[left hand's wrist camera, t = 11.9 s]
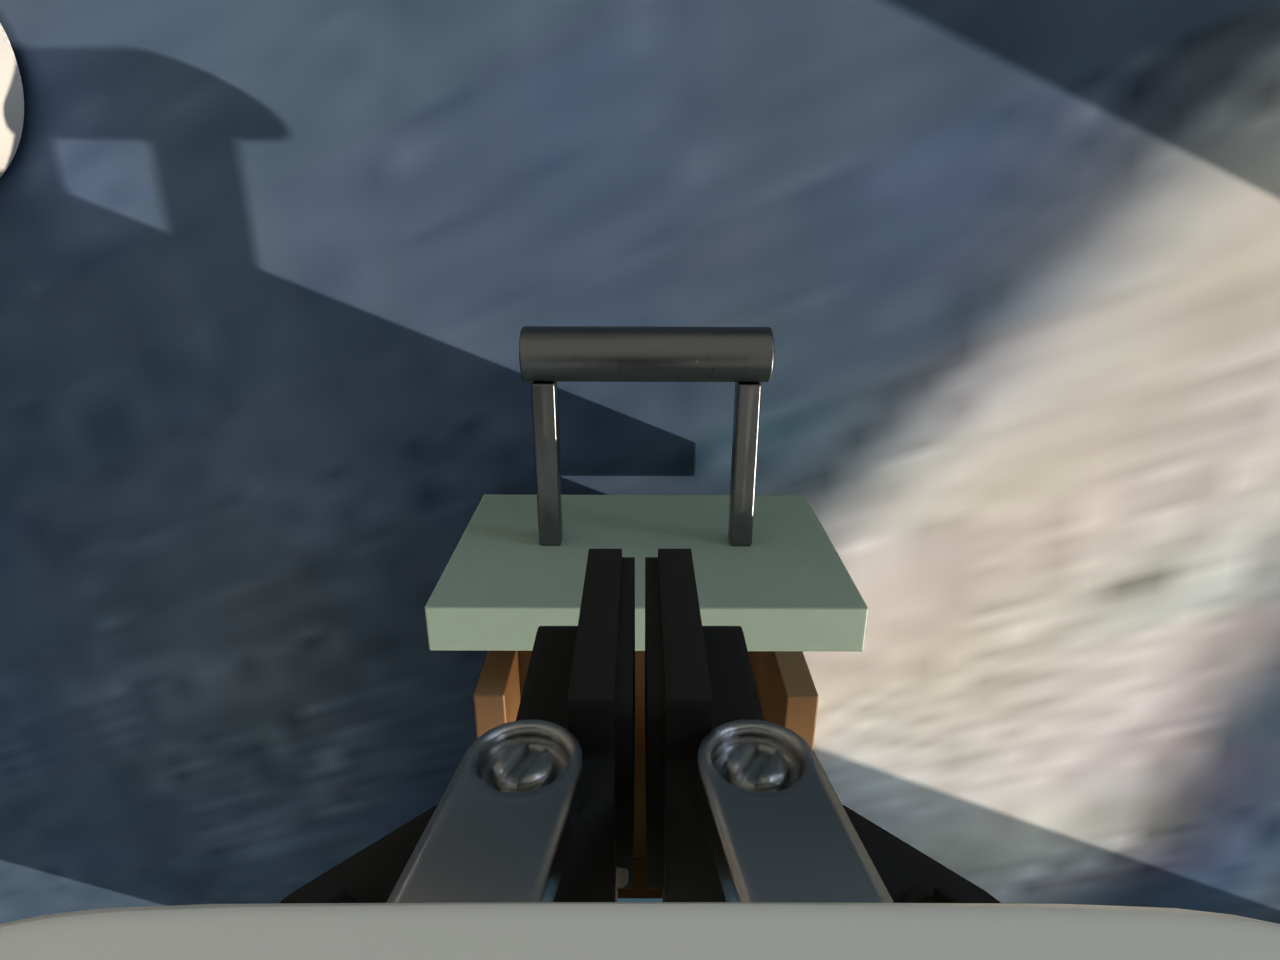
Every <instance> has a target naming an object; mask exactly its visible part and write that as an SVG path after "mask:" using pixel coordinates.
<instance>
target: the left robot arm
mask: <svg viewBox="0 0 1280 960" xmlns="http://www.w3.org/2000/svg"><path fill="white" fill-rule="evenodd" d="M634 779H635V557H622V549H589V552H588V559H587V566H586V573H585V579H584V586H583V593H582V600H581V607H580V614H579V621H578V626H539V627H538V630H537V633H536V637H535V642H534V646H533V650H532V654H531V658H530V663H529V667H528V671H527V675H526V680H525V684H524V688H523V692H522V696H521V701H520V705H519V709H518V713H517V718H516V721H513V722H508V723H504V724H502V725H499V726H497V727H495V728H492V729H490V730H488V731H487V732H485V733H484V734H483V735H481V736H480V737H478V738H477V739H476V740H475V741H474V742H473V743H472V745H471V746H470V747H469V749H468V750H467V751H466V753H465V755H464V756H463V758H462V760H461V762H460V764H459V766H458V768H457V770H456V772H455V773H454V775H453V777H452V779H451V781H450V783H449V785H448V787H447V789H446V790H445V792H444V794H443V796H442V798H441V800H440V802H439V804H438V805H436V806H434V807H433V808H431V809H429V810H428V811H426V812H424V813H423V814H421V815H419V816H418V817H416V818H415V819H413V820H411V821H410V822H408V823H406V824H405V825H403V826H401V827H400V828H398V829H396V830H395V831H393V832H391V833H390V834H388V835H387V836H385V837H383V838H382V839H380V840H378V841H377V842H375V843H373V844H372V845H370V846H368V847H367V848H365V849H363V850H362V851H360V852H359V853H357V854H355V855H354V856H352V857H350V858H349V859H347V860H345V861H344V862H342V863H340V864H339V865H337V866H335V867H334V868H332V869H330V870H329V871H327V872H326V873H324V874H322V875H321V876H319V877H317V878H316V879H314V880H312V881H311V882H309V883H307V884H306V885H304V886H302V887H301V888H299V889H298V890H296V891H294V892H293V893H292V894H290V895H289V896H288V897H286V898H285V899H284V900H282V901H281V902H280V903H274V904H198V905H172V906H146V907H121V908H101V909H92V910H83V911H75V912H66V913H57V914H48V915H42V916H37V917H32V918H27V919H22V920H17V921H12V922H8V923H3V924H0V960H1280V924H1277V923H1272V922H1268V921H1263V920H1258V919H1253V918H1248V917H1243V916H1238V915H1232V914H1223V913H1214V912H1205V911H1197V910H1188V909H1179V908H1159V907H1134V906H1108V905H1082V904H1006V903H1000V902H999V901H998V900H996V899H995V898H994V897H992V896H991V895H990V894H988V893H987V892H986V891H984V890H982V889H981V888H979V887H978V886H976V885H974V884H973V883H971V882H969V881H968V880H966V879H964V878H963V877H961V876H959V875H958V874H956V873H954V872H953V871H951V870H950V869H948V868H946V867H945V866H943V865H941V864H940V863H938V862H936V861H935V860H933V859H931V858H930V857H928V856H926V855H925V854H923V853H921V852H920V851H918V850H917V849H915V848H913V847H912V846H910V845H908V844H907V843H905V842H903V841H902V840H900V839H898V838H897V837H895V836H893V835H892V834H890V833H889V832H887V831H885V830H884V829H882V828H880V827H879V826H877V825H875V824H874V823H872V822H870V821H869V820H867V819H865V818H864V817H862V816H861V815H859V814H857V813H856V812H854V811H852V810H851V809H849V808H847V807H846V806H844V805H842V804H841V802H840V800H839V798H838V796H837V794H836V792H835V790H834V789H833V787H832V785H831V783H830V781H829V779H828V777H827V775H826V773H825V772H824V770H823V768H822V766H821V764H820V762H819V760H818V758H817V756H816V755H815V753H814V751H813V750H812V749H811V747H810V746H809V745H808V743H807V742H806V741H805V740H804V739H803V738H802V737H800V736H799V735H797V734H796V733H795V732H793V731H792V730H790V729H788V728H785V727H783V726H781V725H778V724H776V723H772V722H767V721H764V718H763V713H762V709H761V705H760V701H759V696H758V692H757V688H756V684H755V680H754V675H753V671H752V667H751V663H750V658H749V654H748V650H747V646H746V642H745V637H744V633H743V630H742V627H741V626H702V621H701V614H700V607H699V600H698V593H697V586H696V579H695V573H694V566H693V559H692V552H691V549H658V557H645V779H646V884H647V889H662V900H663V902H617V900H618V889H633V884H634Z"/></svg>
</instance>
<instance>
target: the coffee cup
mask: <svg viewBox="0 0 1280 960" xmlns="http://www.w3.org/2000/svg"><path fill="white" fill-rule="evenodd" d="M23 121H24V95H23V86H22V81H21V76H20V71H19V68H18V64H17V61H16V58H15V55H14V52H13V49H12V47H11V44H10V42H9V39H8V37H7V35H6V33H5V31H4V29H3V27H2V25H1V24H0V177H1V176H2V175H3V174H4V172H5V171H6V170H7V168H8V166H9V165H10V163H11V162H12V160H13V157H14V155H15V153H16V151H17V148H18V145H19V142H20V138H21V134H22V129H23Z"/></svg>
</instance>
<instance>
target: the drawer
mask: <svg viewBox="0 0 1280 960" xmlns="http://www.w3.org/2000/svg"><path fill="white" fill-rule="evenodd" d="M519 360H520V370H521V375H522V378H523V380H524V381H533V383H532V385H531V390H532V410H533V430H534V450H535V471H536V491H537V495H491V494H485V495H483V497H482V499H481V501H480V503H479V505H478V506H477V508H476V510H475V512H474V514H473V516H472V518H471V520H470V522H469V524H468V525H467V527H466V529H465V531H464V533H463V535H462V537H461V539H460V541H459V543H458V545H457V546H456V548H455V550H454V552H453V554H452V556H451V558H450V560H449V562H448V564H447V565H446V567H445V569H444V571H443V573H442V575H441V577H440V579H439V581H438V583H437V584H436V586H435V588H434V590H433V592H432V594H431V596H430V598H429V600H428V602H427V604H426V605H425V617H426V626H427V634H428V643H429V649H430V650H485V651H488V653H487V656H486V658H485V661H484V664H483V667H482V670H481V673H480V676H479V679H478V682H477V685H476V688H475V691H474V694H473V702H474V713H475V724H476V734H477V738H478V737H480V736H481V735H483V734H484V733H485V732H487V731H488V730H490V729H492V728H495V727H497V726H499V725H502V724H504V723H508V722H513V721H516V718H517V713H518V709H519V705H520V701H521V696H522V692H523V688H524V684H525V680H526V675H527V671H528V667H529V663H530V658H531V654H532V650H533V646H534V642H535V637H536V633H537V630H538V627H539V626H578V621H579V614H580V607H581V600H582V593H583V586H584V579H585V573H586V566H587V559H588V552H589V549H622V557H635V779H634V884H633V889H618V898H662V889H647V884H646V779H645V557H658V549H691V552H692V559H693V566H694V573H695V579H696V586H697V593H698V600H699V607H700V614H701V621H702V626H741V627H742V630H743V633H744V637H745V642H746V646H747V650H748V654H749V658H750V663H751V667H752V671H753V675H754V680H755V684H756V688H757V692H758V696H759V701H760V705H761V709H762V713H763V718H764V721H767V722H772V723H776V724H778V725H781V726H783V727H785V728H788V729H790V730H792V731H793V732H795V733H796V734H797V735H799V736H800V737H802V738H803V739H804V740H805V741H806V742H807V743H808V745H809V746H810V747H811V749H812V750H813V744H814V735H815V725H816V716H817V706H818V694H817V691H816V688H815V685H814V683H813V680H812V677H811V674H810V671H809V669H808V666H807V663H806V660H805V657H804V655H803V652H802V651H863V646H864V638H865V630H866V622H867V614H868V607H867V605H866V604H865V602H864V600H863V598H862V596H861V595H860V593H859V591H858V589H857V587H856V586H855V584H854V582H853V580H852V578H851V576H850V575H849V573H848V571H847V569H846V567H845V566H844V564H843V562H842V560H841V558H840V557H839V555H838V553H837V551H836V549H835V548H834V546H833V544H832V542H831V540H830V539H829V537H828V535H827V533H826V531H825V530H824V528H823V526H822V524H821V522H820V521H819V519H818V517H817V515H816V513H815V512H814V510H813V508H812V506H811V504H810V503H809V501H808V499H807V497H806V496H805V495H755V484H756V467H757V451H758V435H759V419H760V402H761V384H760V382H768V381H770V379H771V376H772V372H773V365H774V336H773V332H772V329H771V328H770V327H562V326H524V327H522V330H521V333H520V341H519ZM557 381H596V382H736V383H735V403H734V424H733V444H732V465H731V485H730V495H561V475H560V448H559V421H558V394H557Z"/></svg>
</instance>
